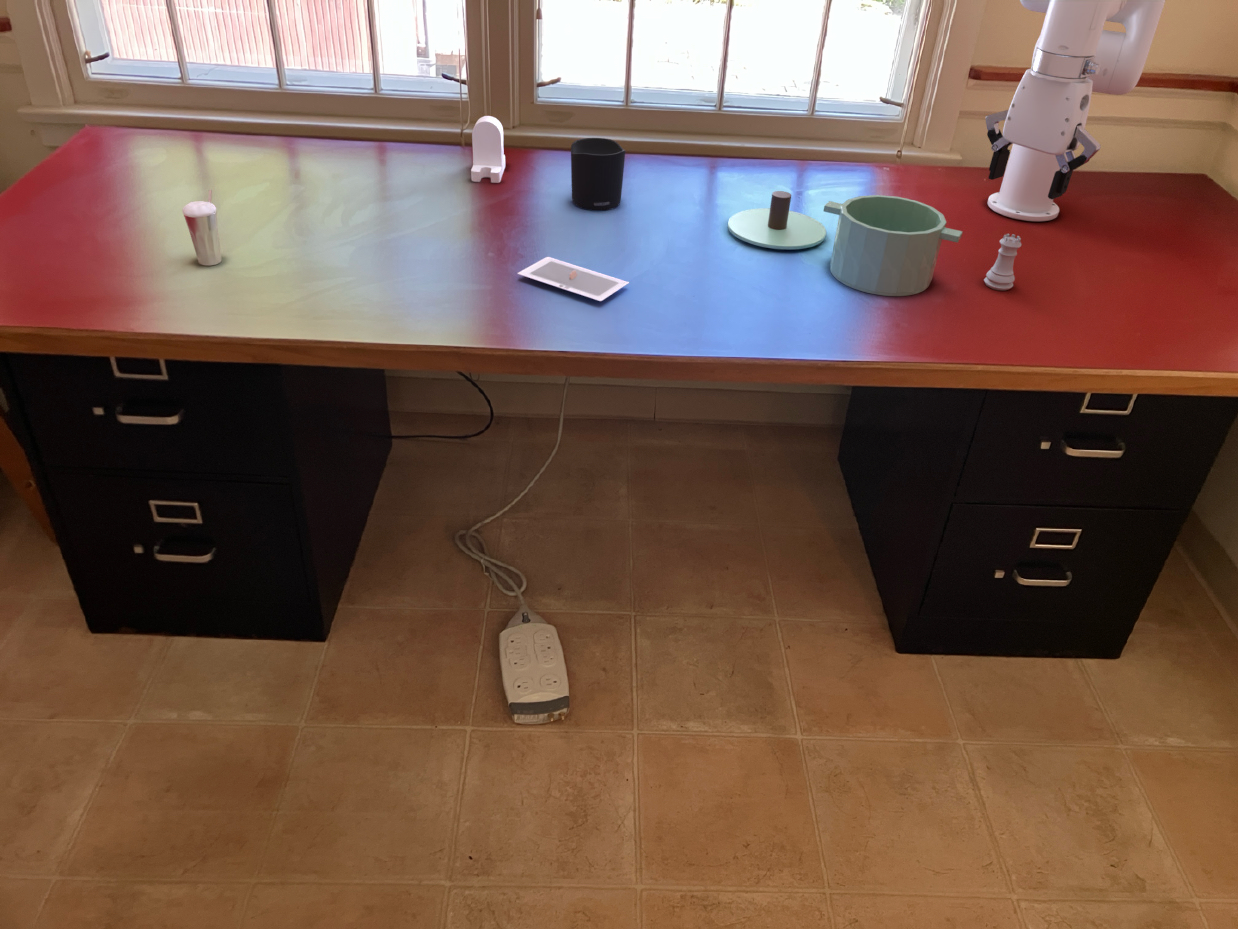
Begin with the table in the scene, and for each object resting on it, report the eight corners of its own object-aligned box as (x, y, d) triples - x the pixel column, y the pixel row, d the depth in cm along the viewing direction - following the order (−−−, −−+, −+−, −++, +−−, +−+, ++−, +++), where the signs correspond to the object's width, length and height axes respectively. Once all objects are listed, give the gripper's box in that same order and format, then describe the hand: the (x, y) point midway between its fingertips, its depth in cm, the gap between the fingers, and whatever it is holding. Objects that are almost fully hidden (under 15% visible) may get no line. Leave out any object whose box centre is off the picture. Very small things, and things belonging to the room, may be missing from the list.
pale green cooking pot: (832, 242, 163) (843, 184, 157) (957, 273, 155) (973, 213, 149) (800, 275, 152) (810, 213, 146) (933, 310, 144) (949, 246, 138)
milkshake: (236, 256, 147) (223, 192, 142) (213, 269, 143) (199, 204, 137) (211, 251, 149) (197, 187, 143) (187, 264, 144) (172, 199, 139)
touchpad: (547, 262, 151) (547, 249, 150) (629, 289, 145) (629, 275, 144) (516, 280, 145) (516, 266, 144) (600, 308, 139) (601, 294, 138)
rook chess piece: (978, 278, 154) (992, 230, 149) (1005, 279, 154) (1020, 231, 150) (989, 291, 150) (1004, 242, 146) (1017, 291, 151) (1032, 243, 146)
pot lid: (750, 207, 174) (754, 170, 170) (838, 228, 168) (845, 190, 164) (711, 237, 162) (715, 198, 158) (805, 261, 156) (811, 221, 152)
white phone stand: (505, 164, 186) (504, 111, 180) (499, 182, 178) (498, 127, 172) (478, 163, 186) (476, 110, 180) (471, 181, 178) (468, 126, 172)
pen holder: (561, 206, 170) (561, 149, 165) (582, 189, 178) (584, 134, 172) (610, 216, 168) (613, 158, 162) (630, 198, 175) (633, 143, 169)
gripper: (1134, 75, 130) (1092, 200, 140) (1019, 49, 140) (986, 166, 150) (1108, 82, 126) (1066, 210, 136) (990, 54, 136) (959, 175, 146)
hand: (1024, 187), depth 143 cm, fingers open, 9 cm apart
